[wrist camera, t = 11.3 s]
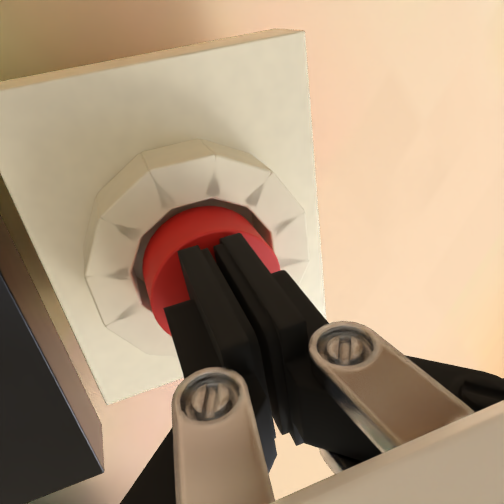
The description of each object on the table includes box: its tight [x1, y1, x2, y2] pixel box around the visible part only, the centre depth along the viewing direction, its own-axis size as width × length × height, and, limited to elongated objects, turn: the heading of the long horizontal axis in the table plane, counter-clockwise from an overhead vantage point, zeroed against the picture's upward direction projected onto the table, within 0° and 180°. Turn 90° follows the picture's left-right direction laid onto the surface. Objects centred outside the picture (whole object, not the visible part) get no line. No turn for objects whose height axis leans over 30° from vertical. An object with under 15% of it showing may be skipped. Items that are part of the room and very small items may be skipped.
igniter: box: [0, 29, 326, 405], centre depth 15 cm, size 11×9×4 cm
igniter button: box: [142, 206, 281, 336], centre depth 12 cm, size 4×4×2 cm
